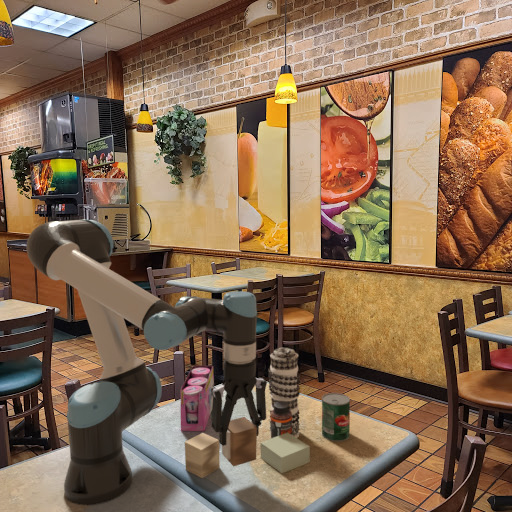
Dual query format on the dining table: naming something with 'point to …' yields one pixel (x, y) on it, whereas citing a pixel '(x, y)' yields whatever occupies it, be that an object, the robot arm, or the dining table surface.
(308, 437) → the dining table surface
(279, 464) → the pedestal block
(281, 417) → the supplement bottle
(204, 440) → the maple block
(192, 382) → the gum box
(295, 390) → the decorative candle
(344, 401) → the canned tomato
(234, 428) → the walnut block
